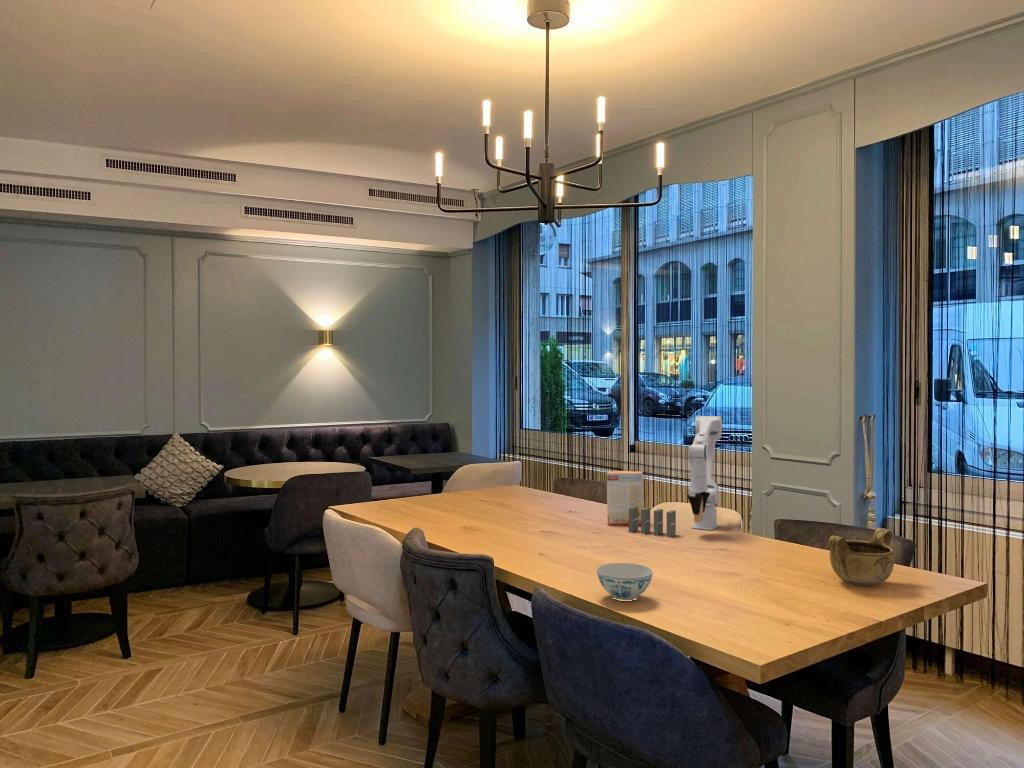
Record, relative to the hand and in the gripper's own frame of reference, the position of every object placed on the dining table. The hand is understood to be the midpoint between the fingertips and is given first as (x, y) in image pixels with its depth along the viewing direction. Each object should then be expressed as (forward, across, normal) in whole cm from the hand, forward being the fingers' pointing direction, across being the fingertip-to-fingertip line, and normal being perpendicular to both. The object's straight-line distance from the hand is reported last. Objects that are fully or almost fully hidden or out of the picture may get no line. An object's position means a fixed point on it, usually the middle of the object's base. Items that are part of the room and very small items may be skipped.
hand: (698, 513), depth 284 cm
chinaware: (+8, +85, +8) cm, 85 cm away
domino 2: (+8, +6, -14) cm, 17 cm away
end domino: (+8, +6, -24) cm, 26 cm away
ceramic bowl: (+8, +37, +60) cm, 71 cm away
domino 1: (+8, +6, -18) cm, 21 cm away
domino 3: (+8, +6, -8) cm, 13 cm away
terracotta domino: (+3, 0, 0) cm, 3 cm away
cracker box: (+9, -4, -32) cm, 33 cm away
